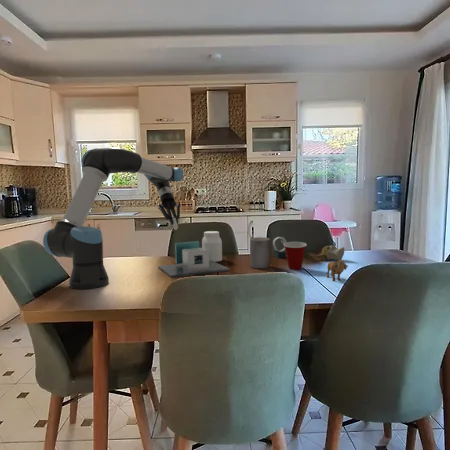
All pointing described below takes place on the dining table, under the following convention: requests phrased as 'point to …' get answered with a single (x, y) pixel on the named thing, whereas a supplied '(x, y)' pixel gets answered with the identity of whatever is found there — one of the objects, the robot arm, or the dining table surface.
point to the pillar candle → (259, 252)
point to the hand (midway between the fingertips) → (176, 228)
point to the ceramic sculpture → (331, 253)
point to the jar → (213, 245)
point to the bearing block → (193, 264)
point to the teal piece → (185, 246)
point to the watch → (281, 252)
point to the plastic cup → (295, 254)
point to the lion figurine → (336, 269)
